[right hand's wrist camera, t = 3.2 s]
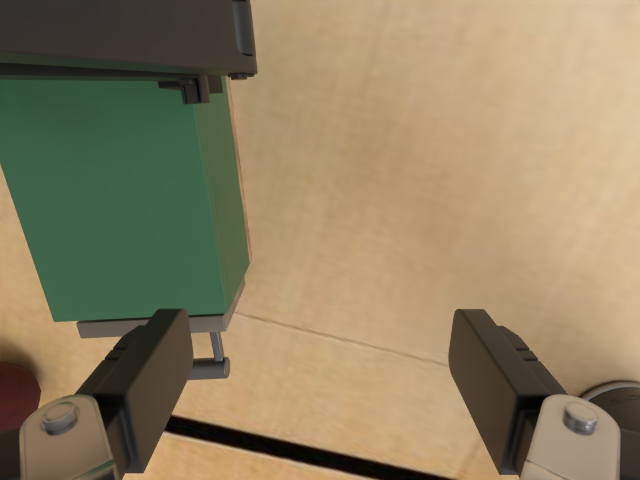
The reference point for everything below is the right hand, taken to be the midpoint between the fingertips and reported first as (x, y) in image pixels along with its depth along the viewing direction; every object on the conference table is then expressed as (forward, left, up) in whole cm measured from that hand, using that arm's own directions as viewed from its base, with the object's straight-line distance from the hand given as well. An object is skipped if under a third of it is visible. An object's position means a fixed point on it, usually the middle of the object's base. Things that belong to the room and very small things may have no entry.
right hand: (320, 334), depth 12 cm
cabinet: (+4, +11, -20) cm, 23 cm away
